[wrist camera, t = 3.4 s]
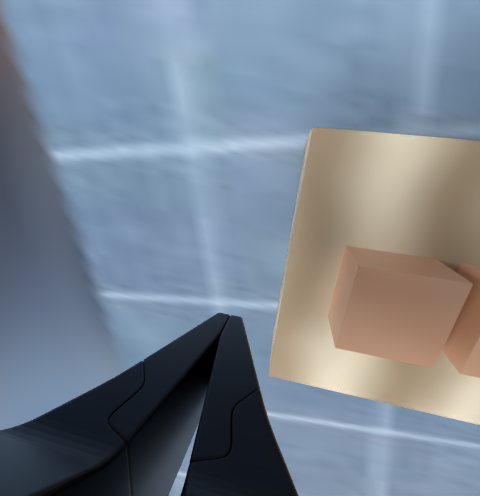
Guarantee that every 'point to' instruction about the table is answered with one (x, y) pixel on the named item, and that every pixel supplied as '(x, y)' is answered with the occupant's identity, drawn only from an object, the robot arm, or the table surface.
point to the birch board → (382, 239)
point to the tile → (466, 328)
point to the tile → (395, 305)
